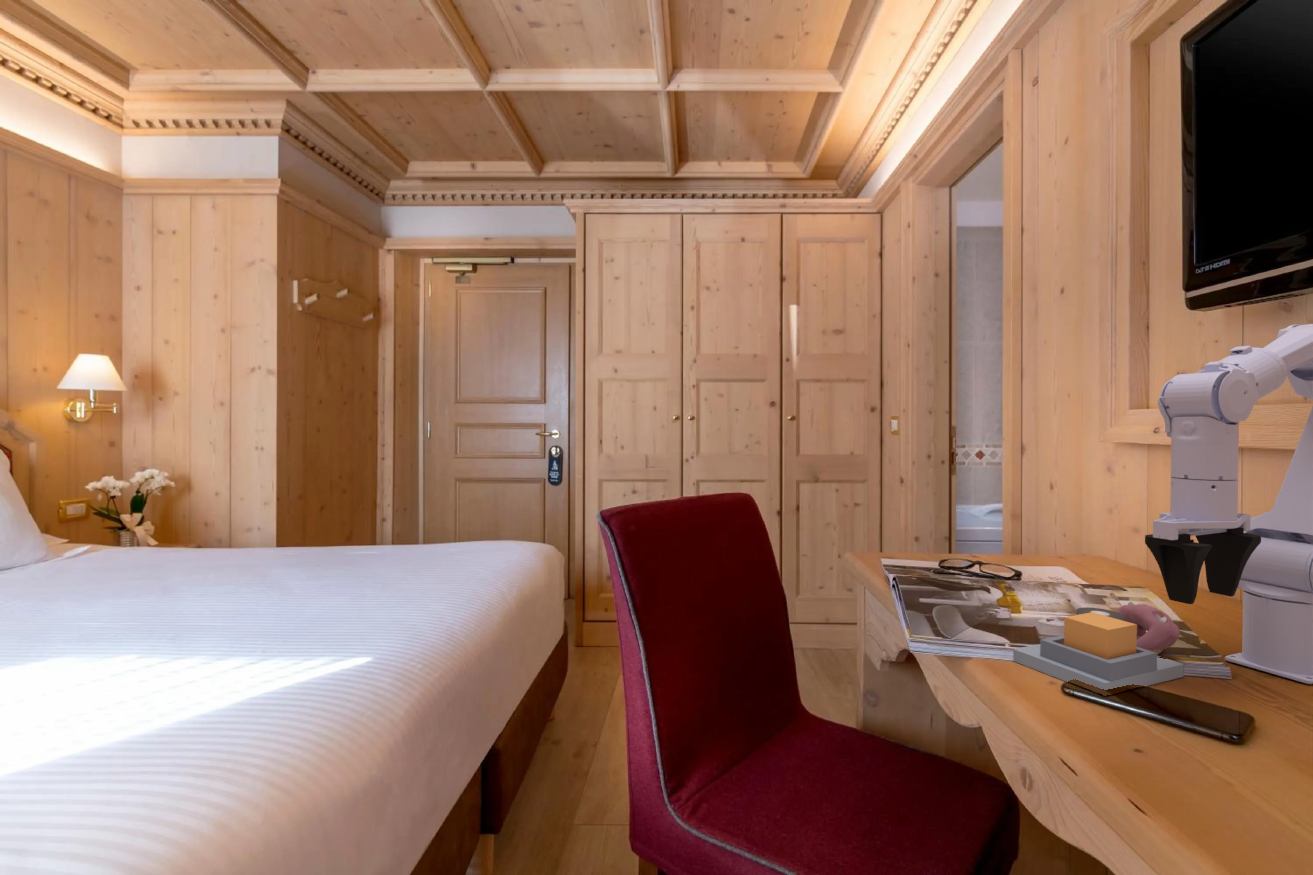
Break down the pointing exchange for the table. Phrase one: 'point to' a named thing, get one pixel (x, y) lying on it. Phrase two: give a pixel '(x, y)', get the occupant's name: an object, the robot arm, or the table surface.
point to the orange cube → (1100, 635)
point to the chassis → (1097, 665)
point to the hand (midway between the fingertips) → (1201, 597)
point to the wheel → (1101, 612)
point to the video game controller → (1150, 626)
